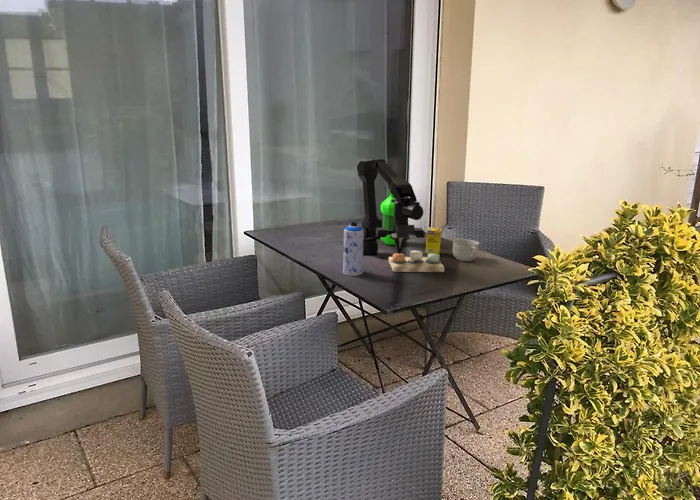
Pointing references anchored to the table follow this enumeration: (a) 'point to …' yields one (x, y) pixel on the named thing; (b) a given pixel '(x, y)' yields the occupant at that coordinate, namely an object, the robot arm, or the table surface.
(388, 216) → the plastic bottle
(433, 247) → the supplement box
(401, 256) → the rust button
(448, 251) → the table surface
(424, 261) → the panel
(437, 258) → the sage button
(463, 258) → the teacup
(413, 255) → the cream button
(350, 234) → the aerosol can
